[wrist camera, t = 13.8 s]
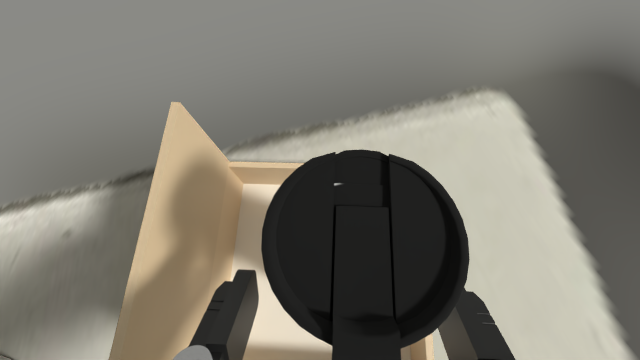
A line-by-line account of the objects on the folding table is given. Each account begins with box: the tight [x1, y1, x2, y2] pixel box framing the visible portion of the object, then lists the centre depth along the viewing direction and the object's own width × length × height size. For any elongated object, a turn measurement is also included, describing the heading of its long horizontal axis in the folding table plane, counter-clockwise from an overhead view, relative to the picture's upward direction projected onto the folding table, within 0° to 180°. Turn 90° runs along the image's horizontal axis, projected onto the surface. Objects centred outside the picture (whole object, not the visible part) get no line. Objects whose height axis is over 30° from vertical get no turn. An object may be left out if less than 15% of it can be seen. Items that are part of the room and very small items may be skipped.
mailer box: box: [109, 102, 434, 360], centre depth 21 cm, size 17×17×14 cm
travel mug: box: [261, 150, 469, 360], centre depth 18 cm, size 6×7×20 cm
